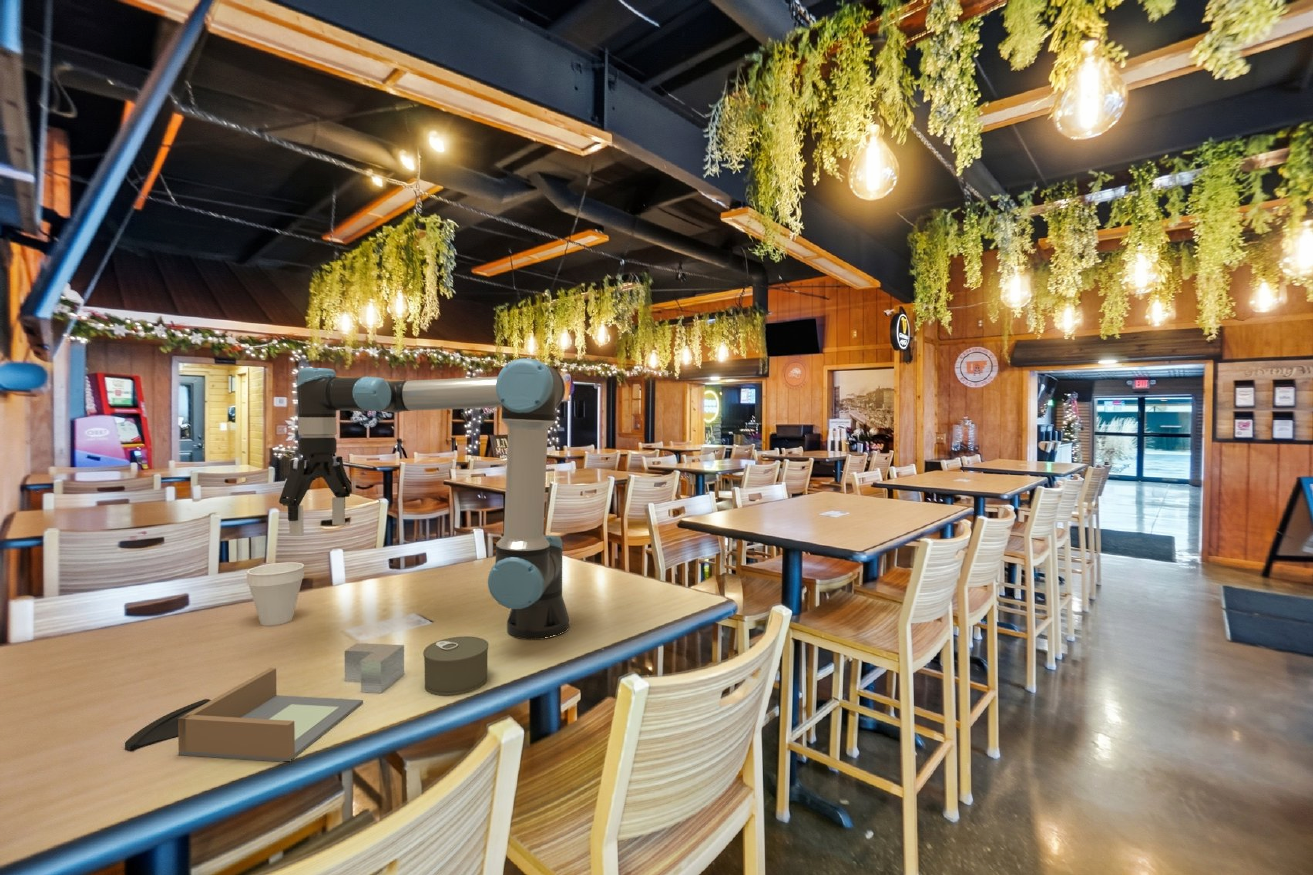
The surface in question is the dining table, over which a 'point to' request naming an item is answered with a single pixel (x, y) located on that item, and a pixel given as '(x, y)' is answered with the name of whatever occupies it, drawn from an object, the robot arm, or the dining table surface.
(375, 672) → the bracket
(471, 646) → the can
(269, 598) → the cup
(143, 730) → the dark sector wedge
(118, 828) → the dining table surface
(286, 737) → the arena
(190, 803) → the dining table surface
